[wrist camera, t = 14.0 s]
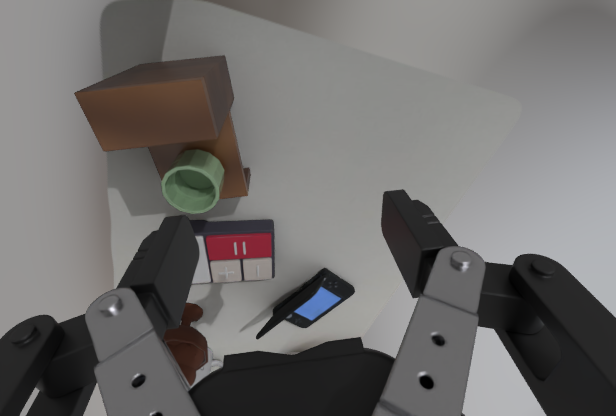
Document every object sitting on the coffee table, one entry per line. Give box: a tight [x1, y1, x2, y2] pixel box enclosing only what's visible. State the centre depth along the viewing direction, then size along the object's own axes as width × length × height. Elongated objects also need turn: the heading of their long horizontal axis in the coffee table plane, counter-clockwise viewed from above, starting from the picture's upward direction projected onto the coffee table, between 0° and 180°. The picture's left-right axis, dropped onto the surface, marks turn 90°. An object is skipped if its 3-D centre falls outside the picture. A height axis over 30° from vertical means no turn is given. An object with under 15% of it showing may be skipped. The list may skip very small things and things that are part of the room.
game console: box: [256, 268, 355, 339], centre depth 57 cm, size 16×14×9 cm
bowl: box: [161, 149, 224, 214], centre depth 35 cm, size 6×6×5 cm
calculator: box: [190, 220, 275, 284], centre depth 50 cm, size 11×4×15 cm
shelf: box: [74, 55, 251, 199], centre depth 34 cm, size 16×10×14 cm, turn 5°
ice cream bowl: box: [163, 303, 208, 386], centre depth 54 cm, size 11×11×15 cm
